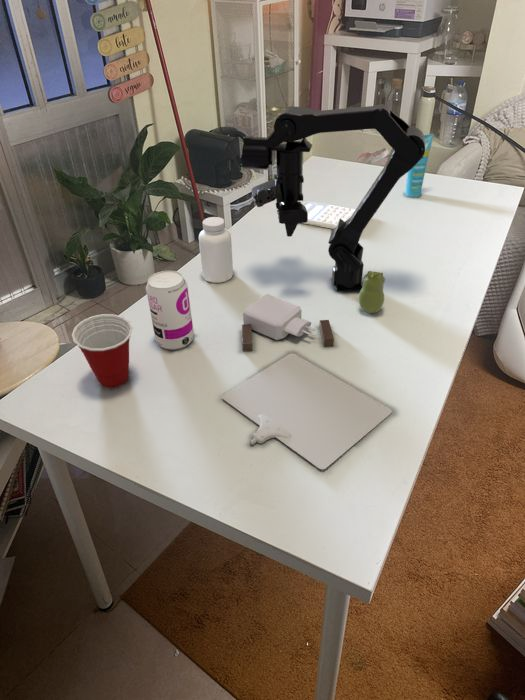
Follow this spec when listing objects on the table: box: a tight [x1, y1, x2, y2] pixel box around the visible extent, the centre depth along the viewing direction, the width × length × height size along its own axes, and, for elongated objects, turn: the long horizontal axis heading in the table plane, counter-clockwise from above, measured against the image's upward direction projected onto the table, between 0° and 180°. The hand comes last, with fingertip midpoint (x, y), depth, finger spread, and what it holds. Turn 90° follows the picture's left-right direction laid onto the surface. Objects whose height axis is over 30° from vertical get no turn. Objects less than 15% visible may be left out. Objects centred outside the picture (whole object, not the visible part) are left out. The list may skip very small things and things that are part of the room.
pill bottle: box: [198, 216, 234, 284], centre depth 131 cm, size 8×8×15 cm
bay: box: [241, 319, 335, 352], centre depth 113 cm, size 19×7×2 cm, turn 93°
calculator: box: [302, 201, 356, 230], centre depth 162 cm, size 13×20×2 cm, turn 62°
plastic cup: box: [71, 313, 134, 389], centre depth 101 cm, size 11×11×12 cm
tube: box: [404, 133, 435, 198], centre depth 169 cm, size 7×5×19 cm, turn 104°
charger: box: [242, 293, 316, 341], centre depth 115 cm, size 5×9×15 cm
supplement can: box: [145, 270, 195, 351], centre depth 110 cm, size 8×8×15 cm
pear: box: [358, 270, 386, 314], centre depth 118 cm, size 6×5×10 cm
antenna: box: [221, 353, 393, 470], centre depth 96 cm, size 25×24×1 cm
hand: (289, 235), depth 126 cm, fingers closed
